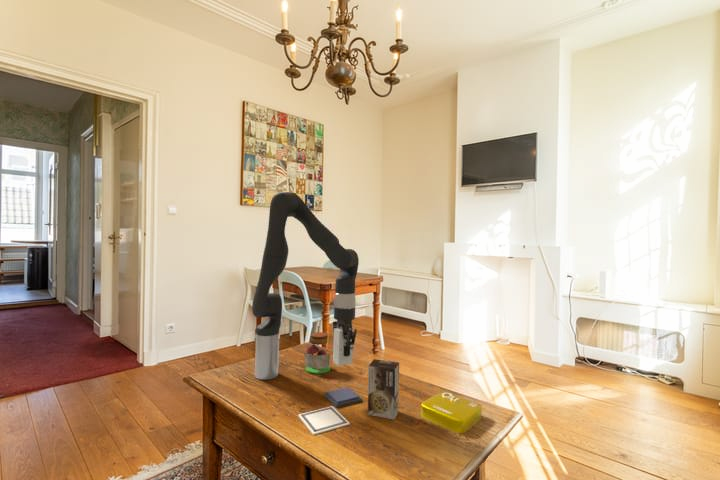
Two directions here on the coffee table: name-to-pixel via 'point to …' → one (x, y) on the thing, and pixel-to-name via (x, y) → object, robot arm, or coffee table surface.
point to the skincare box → (341, 350)
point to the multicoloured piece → (321, 359)
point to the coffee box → (383, 388)
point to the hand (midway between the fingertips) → (343, 353)
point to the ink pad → (342, 397)
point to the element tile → (451, 412)
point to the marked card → (323, 420)
